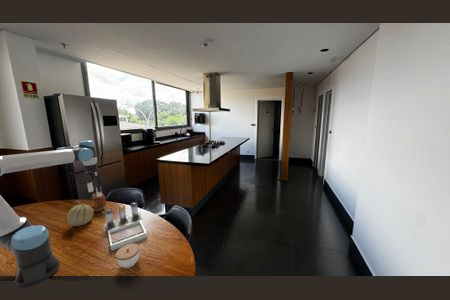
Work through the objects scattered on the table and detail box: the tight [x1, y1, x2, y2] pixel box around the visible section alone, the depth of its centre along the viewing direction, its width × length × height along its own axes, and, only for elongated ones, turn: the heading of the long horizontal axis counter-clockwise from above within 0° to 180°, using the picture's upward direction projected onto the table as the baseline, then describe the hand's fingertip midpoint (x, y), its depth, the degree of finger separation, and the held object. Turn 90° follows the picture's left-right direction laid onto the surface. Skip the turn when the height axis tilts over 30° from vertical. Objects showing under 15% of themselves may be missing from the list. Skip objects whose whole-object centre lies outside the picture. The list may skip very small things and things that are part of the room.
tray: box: [107, 220, 148, 252], centre depth 117 cm, size 18×20×4 cm
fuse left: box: [104, 208, 114, 228], centre depth 124 cm, size 4×4×12 cm
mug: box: [90, 192, 107, 212], centre depth 148 cm, size 15×8×15 cm, turn 62°
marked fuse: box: [117, 204, 127, 223], centre depth 129 cm, size 4×4×12 cm
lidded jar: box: [115, 243, 140, 269], centre depth 95 cm, size 11×11×9 cm
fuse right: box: [130, 201, 139, 220], centre depth 134 cm, size 4×4×12 cm
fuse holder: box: [102, 212, 144, 233], centre depth 130 cm, size 10×24×4 cm, turn 127°
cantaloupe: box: [66, 203, 94, 227], centre depth 129 cm, size 15×15×15 cm
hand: (95, 194), depth 124 cm, fingers open, 13 cm apart
